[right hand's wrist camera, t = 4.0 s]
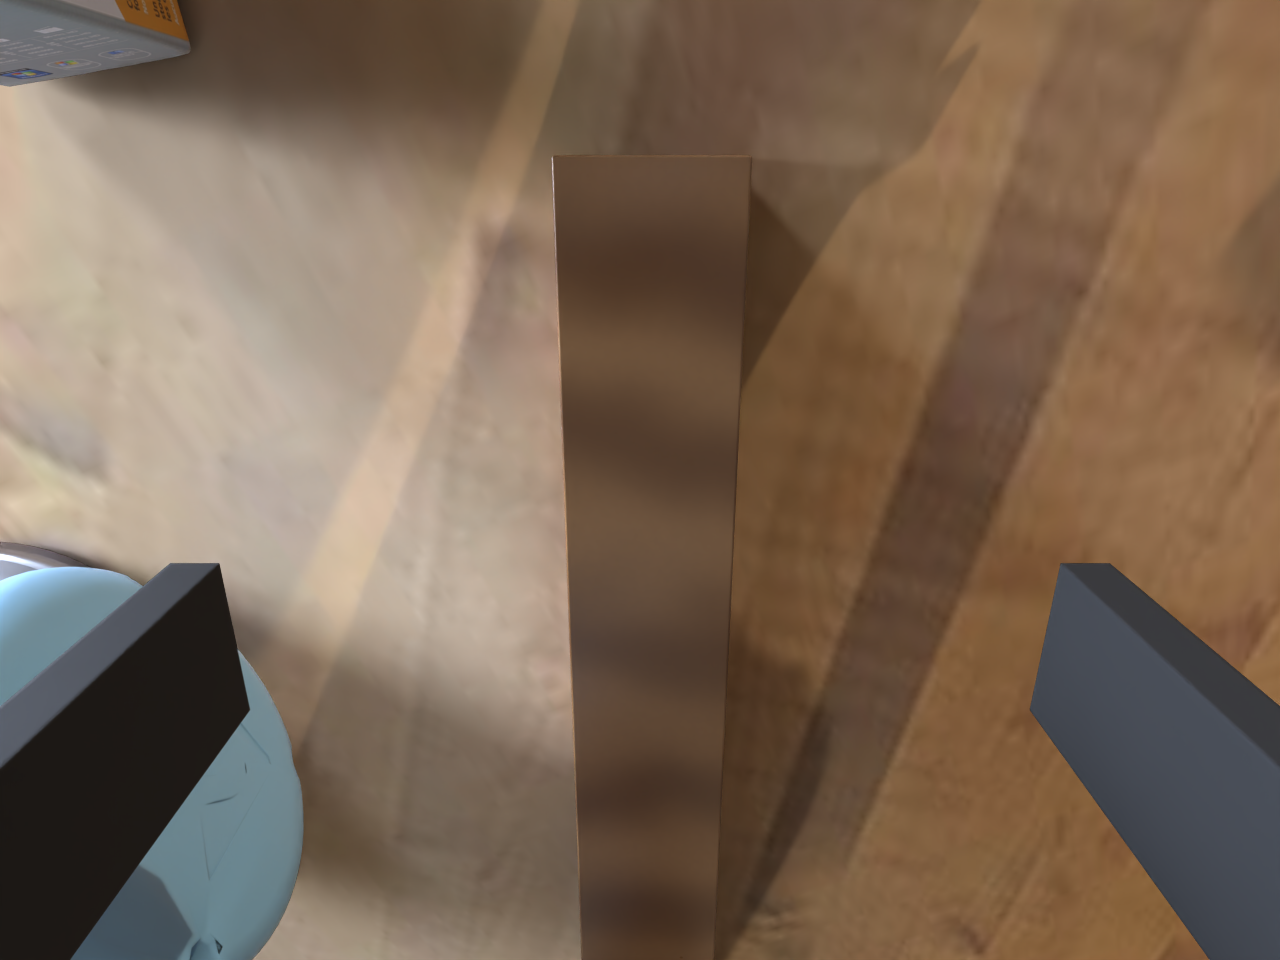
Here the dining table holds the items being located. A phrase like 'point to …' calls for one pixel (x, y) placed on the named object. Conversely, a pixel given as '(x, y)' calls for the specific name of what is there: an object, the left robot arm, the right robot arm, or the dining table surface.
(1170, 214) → the dining table surface
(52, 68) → the hard drive box
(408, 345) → the dining table surface
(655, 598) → the beam
